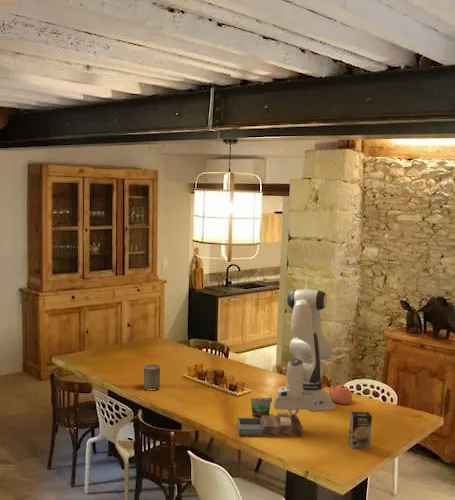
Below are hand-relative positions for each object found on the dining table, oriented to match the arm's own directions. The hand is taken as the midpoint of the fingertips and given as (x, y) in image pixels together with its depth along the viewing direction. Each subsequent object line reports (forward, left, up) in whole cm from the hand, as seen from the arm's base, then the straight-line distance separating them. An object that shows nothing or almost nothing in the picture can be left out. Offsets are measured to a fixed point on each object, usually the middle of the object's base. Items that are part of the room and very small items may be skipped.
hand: (293, 417), depth 308 cm
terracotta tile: (+5, 0, -1) cm, 5 cm away
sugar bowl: (-35, -41, -6) cm, 54 cm away
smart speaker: (+77, -61, -6) cm, 99 cm away
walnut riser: (+7, +3, -6) cm, 9 cm away
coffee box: (-29, +22, -6) cm, 37 cm away
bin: (+22, +3, -6) cm, 23 cm away
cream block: (+5, +7, -1) cm, 9 cm away
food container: (+14, -16, -6) cm, 22 cm away
